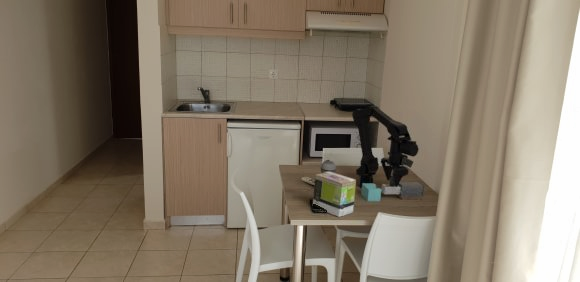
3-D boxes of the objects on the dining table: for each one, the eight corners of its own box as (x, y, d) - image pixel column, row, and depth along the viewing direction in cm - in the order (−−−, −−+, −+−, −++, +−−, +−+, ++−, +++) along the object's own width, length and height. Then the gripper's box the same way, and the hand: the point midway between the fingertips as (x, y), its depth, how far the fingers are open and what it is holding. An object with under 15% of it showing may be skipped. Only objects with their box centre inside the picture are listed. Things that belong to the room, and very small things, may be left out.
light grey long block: (384, 194, 211) (386, 177, 209) (381, 191, 214) (383, 175, 212) (418, 194, 214) (420, 177, 212) (414, 191, 217) (416, 175, 215)
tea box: (353, 212, 192) (357, 179, 189) (338, 217, 185) (341, 183, 182) (327, 202, 203) (329, 170, 199) (311, 206, 196) (314, 173, 193)
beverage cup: (324, 188, 221) (327, 148, 216) (336, 192, 216) (340, 151, 212) (315, 191, 215) (318, 150, 211) (328, 195, 211) (331, 154, 206)
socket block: (367, 201, 207) (368, 189, 206) (361, 194, 215) (362, 183, 214) (380, 201, 208) (381, 189, 207) (373, 194, 217) (374, 183, 215)
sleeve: (400, 199, 212) (402, 185, 210) (395, 195, 217) (397, 181, 215) (422, 199, 214) (424, 185, 212) (417, 195, 219) (419, 182, 217)
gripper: (421, 156, 201) (417, 190, 205) (403, 146, 219) (400, 177, 223) (398, 156, 199) (393, 190, 203) (382, 146, 217) (378, 177, 220)
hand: (392, 183), depth 212 cm, fingers open, 9 cm apart
